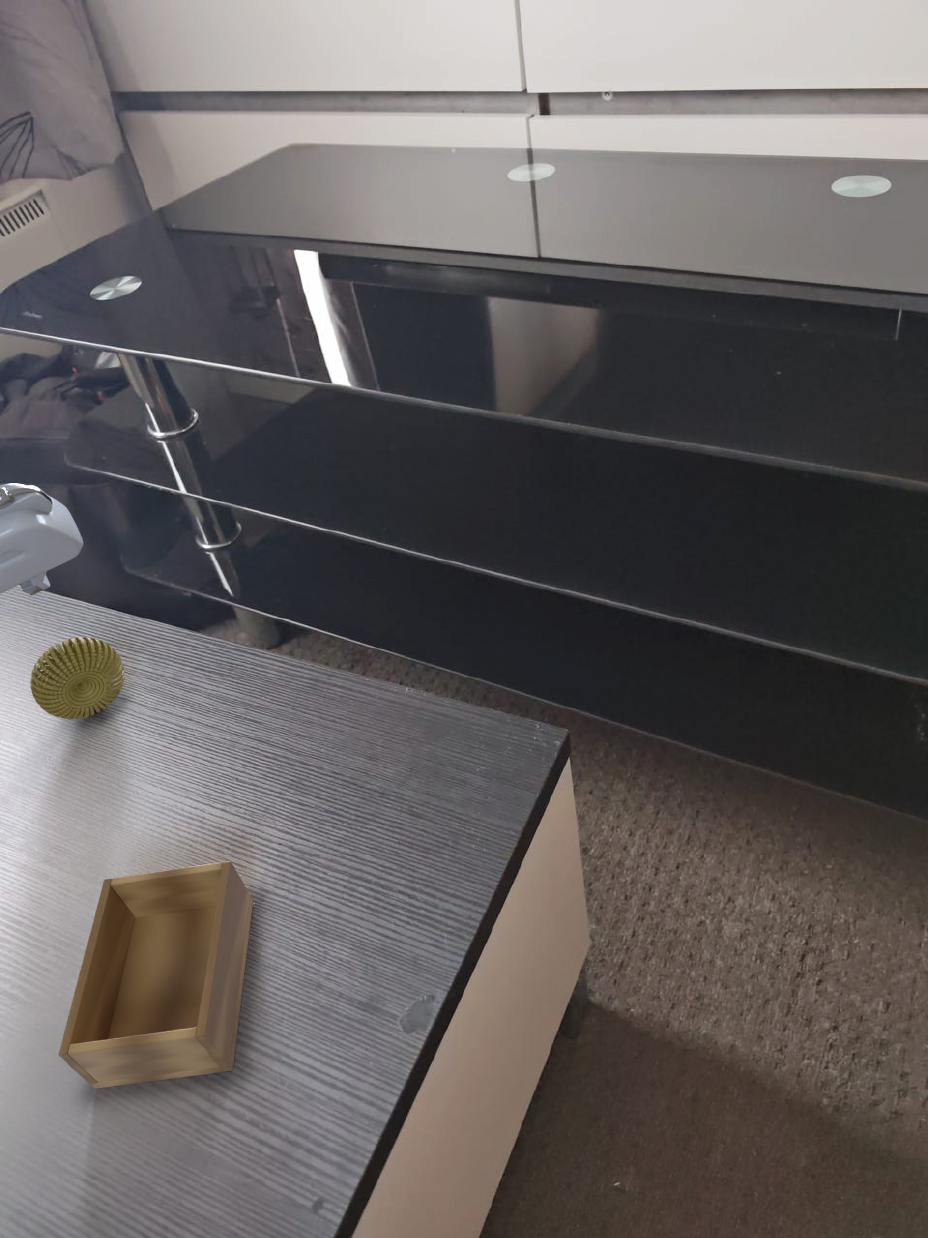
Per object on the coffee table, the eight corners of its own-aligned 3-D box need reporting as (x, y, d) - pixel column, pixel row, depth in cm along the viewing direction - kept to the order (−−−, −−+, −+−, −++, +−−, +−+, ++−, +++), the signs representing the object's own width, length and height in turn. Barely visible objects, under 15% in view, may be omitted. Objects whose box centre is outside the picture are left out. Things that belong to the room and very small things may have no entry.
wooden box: (94, 1089, 59) (57, 1055, 56) (133, 917, 68) (103, 879, 65) (233, 1071, 59) (205, 1035, 55) (253, 900, 68) (230, 860, 64)
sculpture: (62, 743, 83) (20, 682, 78) (49, 718, 86) (8, 658, 80) (143, 697, 86) (108, 636, 80) (129, 675, 88) (94, 614, 83)
